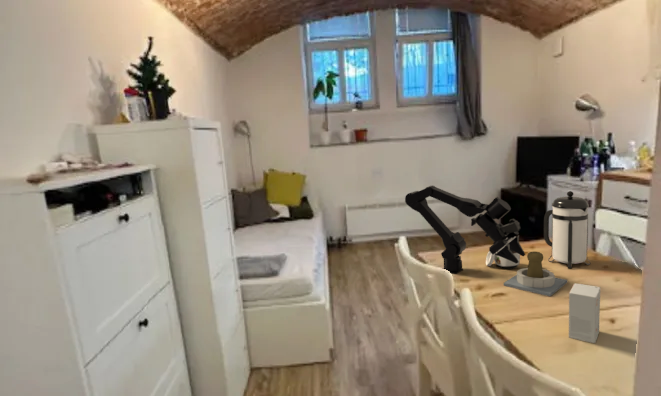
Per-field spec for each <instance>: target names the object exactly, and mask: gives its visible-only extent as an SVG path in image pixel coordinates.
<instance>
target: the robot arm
mask: <svg viewBox="0 0 661 396" xmlns="http://www.w3.org/2000/svg"><path fill="white" fill-rule="evenodd" d="M429 197H430V198H433V199H435V200H437V201H440V202H442V203H444V204H446V205H450V206H452V207H454V208H456V209H457V210H458V211H459V212H460V213H461V214H463V215H465V216H466V217H469V218H471V219H470V220H471V223H470V225H471V227H474V225H476V224H477V226H478V227H479V228H480V229H481V231H483V232H484V233H485V234H484V235H485V237H487V238H488V237H489V238H490V239H491V241H493V243H492V245H491V246H489V247H488V248H489V249H488V250H489V251H490V252H491V253H492V254H495V253H496V252H498V253H496V254H495V255H498V256H500V257H503V258H505V259H507V260H510V261H512V262H514V263H518V262H519V261H518V260H517V258H516V257H515V256H514V254H513V253H512V252H511V250H510V249H512V250H513V251H515V252H516V253H518V254H520V256H522V257H525V256H526V253H525V251H524V249H523V247H522V245H521V244H520V242H519V239H520V235H519V234H520V232H519V231H520V230H521V224H520V223H521V222H519V221H518V220H516V219H515V218H511V219H509V220H508V223H506V224H503V223H500V222H499V223H498V222H497V221H496V220H501V219H502V218H503V217H504V216H505V215H507V214H508V213H509V212H510V211H511V209H512V208H511V206H510V204H509V203H508V202H507V201H505V200H503V199H501V198H500V197H498V196H496V197H494V198H493V199H492V201H491V202H490V203H489V204H487V203H483V202H482V203H481V202H480V200H477V199H472V198H469V197H468V198H467V197H462V196H458V195H456V194H454V193H451V192H449V191H445V190H444V189H441V188H438V187H437V186H435V185H429V186H426V187H425V188H423V189H421V190H415V191H411V192H409V193H407V194H406V195H405V196H404V203H405V204H406V205H407V206H408V207H409V208H411V209H412V210H414V211H415V212H417V213H419V214H420V216H421V217H422V218H423V219H424V220H425V221H426V223H428V224H429V226H430V227H431V228H432V230H433V231H434V232H435V233H436V234H437V235H438V236H439V237H440V238H441V241H442V244H443V246H444V248H445V249H444V250H443V251H442V252H441V254H440V255H441V257H442V259H443V269H446V270H448V271H450V272H451V273H450V274H455V275H456V274H458V273H460V272H461V271H464V268H463V260H462V256H461V255H462V253H463V251H465V250H466V248H467V243H466V238H464V237H463V236H462V235H461V233H460V232H459V231H456V232H452V231H451V230H450V229H449V227H448V226H447V225H446V224H445V223H444V222H443V221H442V220H441V218H440V217H439V216H438V215H437V214H436V212H434V211H433V209H431V207H430V206H429V204H428V202H427V198H429ZM483 213H484V214H483ZM476 215H477V216H476ZM475 216H476V217H475ZM506 244H507V245H506ZM489 251H488V252H489Z"/></svg>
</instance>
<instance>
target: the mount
mask: <svg viewBox="0 0 661 396" xmlns="http://www.w3.org/2000/svg"><path fill="white" fill-rule="evenodd" d="M542 269H543V276H544V278H532V277H527V270H528V267H526V268H524V267H523V268H520V269H518V270H516V274H515V275H513V276H512V277H511V278H509V279H508V280H506V281H505V282H503V286H504V287H509V288H513V289H517V290H521V291H526V292H529V293H534V294H537V295H542V296H547V297H551V296H553V295H554V294H555V293H556V292H557V291H559V290H560V289H561V288H563V287H564V286H565V285H566V284H568V279H564V278H560V277H556V276H555V273H554V272H552V271H550V270H547V269H544V268H542Z"/></svg>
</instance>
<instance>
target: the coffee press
mask: <svg viewBox="0 0 661 396" xmlns="http://www.w3.org/2000/svg"><path fill="white" fill-rule="evenodd" d="M566 195H567V196H560V197H557V198H555V199H553V202H552V203H551V207H552V209H549V210H547V211H546V212H545V214H544V215H543V216H544V217H543V239H544V241H545V244H546V245H548V246H549V247H551V255H550V257H548V263H553V262H554V261H556V262H558V263H563V264H567V269H568V270H569V269H570V270H571V269H573V265H574V264H575V265H576V264H582V263H584V264H586V265H587V266H590V265H591V261H590V260H589V258H588V257H587V252H588V236H589V211H588V209H589V206H590V203H588V201H587V200H586V199H585V198H583V197H579V196H574V192H573V191H571V190H570V191H567V192H566ZM550 217H551V218H552V234H551V240H550V233H549V231H550V229H549V228H550ZM551 258H553V259H552V260H550V259H551ZM586 261H588V262H589V263H587V262H586Z"/></svg>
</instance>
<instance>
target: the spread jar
mask: <svg viewBox="0 0 661 396" xmlns="http://www.w3.org/2000/svg"><path fill="white" fill-rule="evenodd" d="M506 245H507V244H506ZM510 250H511V252H512V253H513V254H514V256H515V257H516V258H517V260H518V261H519V262H518V263H514V262H512V261H510V260H507V259H505V258H503V257H500V256H498V255H495V254H496V253H498V252H496V253H495V254H492V253H491V252H490V251H488V252H487V254H486V258H485V265H486V266H488V267H491V266H492V264H493V263H495V265H496V266H497V267H498V268H499V269H504V270H513V269H516V268H518V266H520V262H521V255H520V254H518V253H516V252H515V251H513V250H512V249H510Z"/></svg>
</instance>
